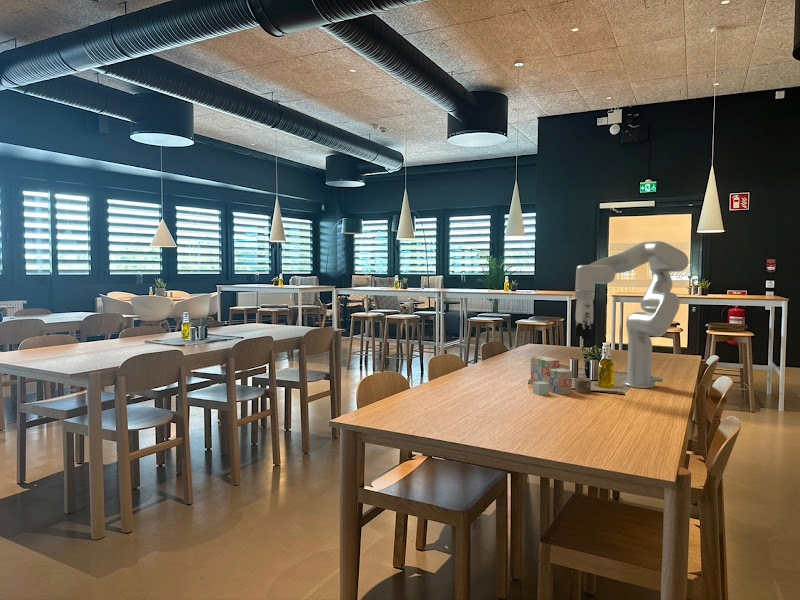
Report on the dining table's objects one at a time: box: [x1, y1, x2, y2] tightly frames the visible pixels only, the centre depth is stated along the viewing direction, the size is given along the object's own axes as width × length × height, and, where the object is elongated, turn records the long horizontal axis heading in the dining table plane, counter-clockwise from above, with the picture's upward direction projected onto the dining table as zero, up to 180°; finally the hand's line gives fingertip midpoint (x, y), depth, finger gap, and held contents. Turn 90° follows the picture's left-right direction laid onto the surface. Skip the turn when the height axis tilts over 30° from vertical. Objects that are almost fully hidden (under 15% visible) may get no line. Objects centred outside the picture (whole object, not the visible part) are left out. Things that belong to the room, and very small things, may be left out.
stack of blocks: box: [530, 355, 573, 395], centre depth 235 cm, size 21×6×12 cm, turn 18°
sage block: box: [532, 381, 550, 396], centre depth 225 cm, size 4×4×4 cm
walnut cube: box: [574, 377, 592, 394], centre depth 230 cm, size 5×5×5 cm
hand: (582, 337), depth 230 cm, fingers open, 9 cm apart
